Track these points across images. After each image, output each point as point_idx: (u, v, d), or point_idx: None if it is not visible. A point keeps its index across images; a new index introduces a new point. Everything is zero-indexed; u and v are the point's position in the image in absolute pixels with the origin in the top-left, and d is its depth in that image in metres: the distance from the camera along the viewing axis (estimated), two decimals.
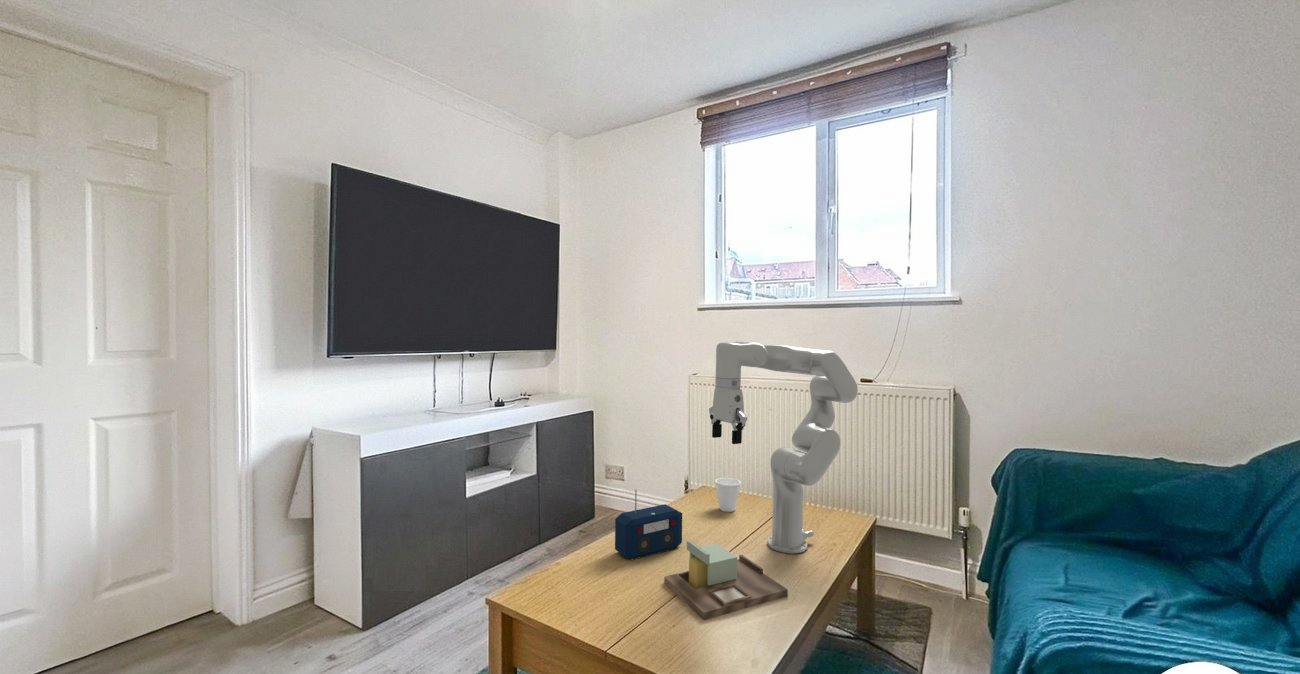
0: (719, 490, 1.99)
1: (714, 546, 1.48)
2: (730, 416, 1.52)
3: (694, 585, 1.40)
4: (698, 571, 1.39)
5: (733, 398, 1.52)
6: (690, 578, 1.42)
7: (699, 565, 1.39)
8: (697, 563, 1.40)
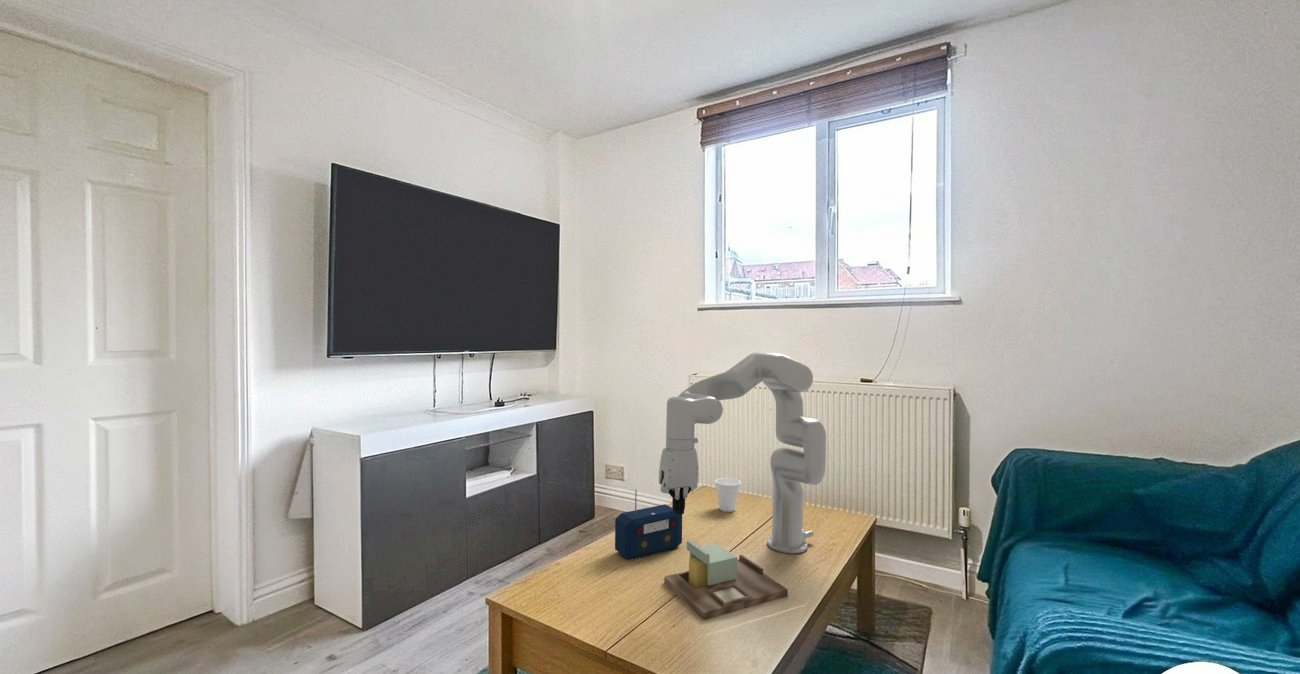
0: (719, 490, 1.99)
1: (714, 546, 1.48)
2: (697, 478, 1.38)
3: (694, 585, 1.40)
4: (698, 571, 1.39)
5: None
6: (690, 578, 1.42)
7: (699, 565, 1.39)
8: (697, 563, 1.40)
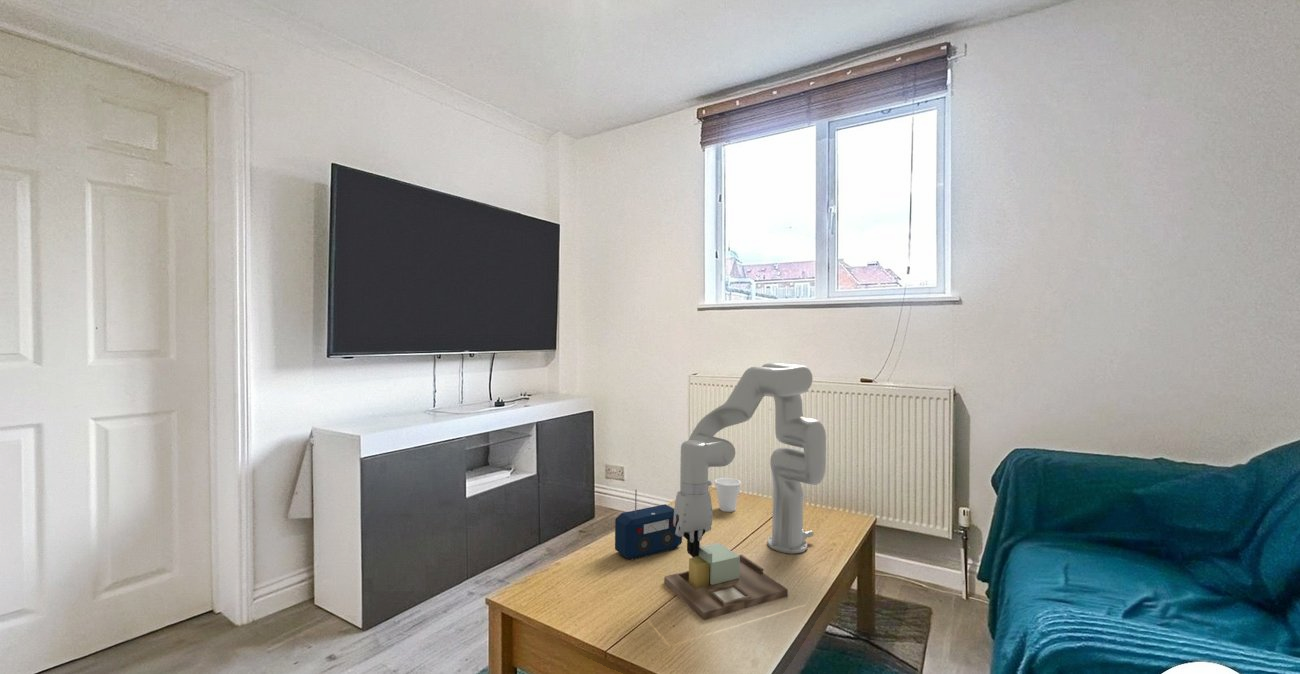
0: (719, 490, 1.99)
1: (717, 545, 1.48)
2: (711, 520, 1.41)
3: (694, 585, 1.40)
4: (698, 571, 1.39)
5: None
6: (690, 578, 1.42)
7: (699, 565, 1.39)
8: (697, 563, 1.40)
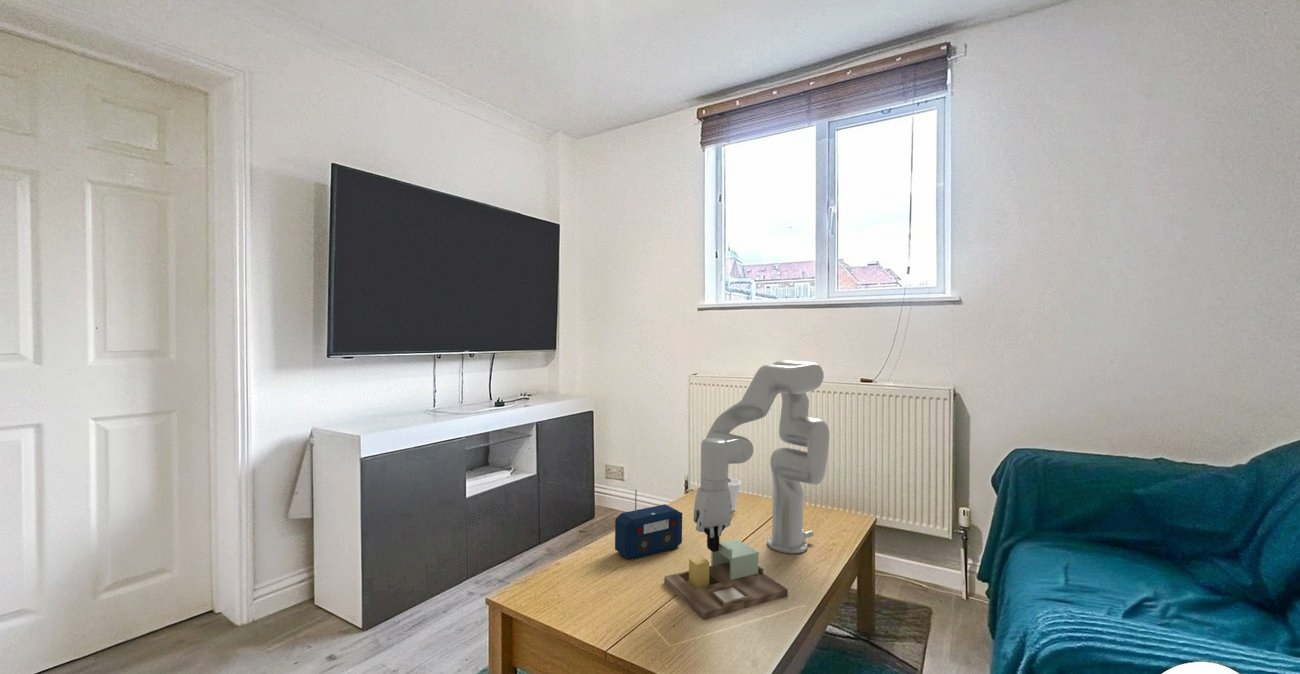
0: None
1: (735, 542, 1.51)
2: (730, 516, 1.44)
3: (694, 585, 1.40)
4: (698, 571, 1.39)
5: None
6: (690, 578, 1.42)
7: (699, 565, 1.39)
8: (697, 563, 1.40)
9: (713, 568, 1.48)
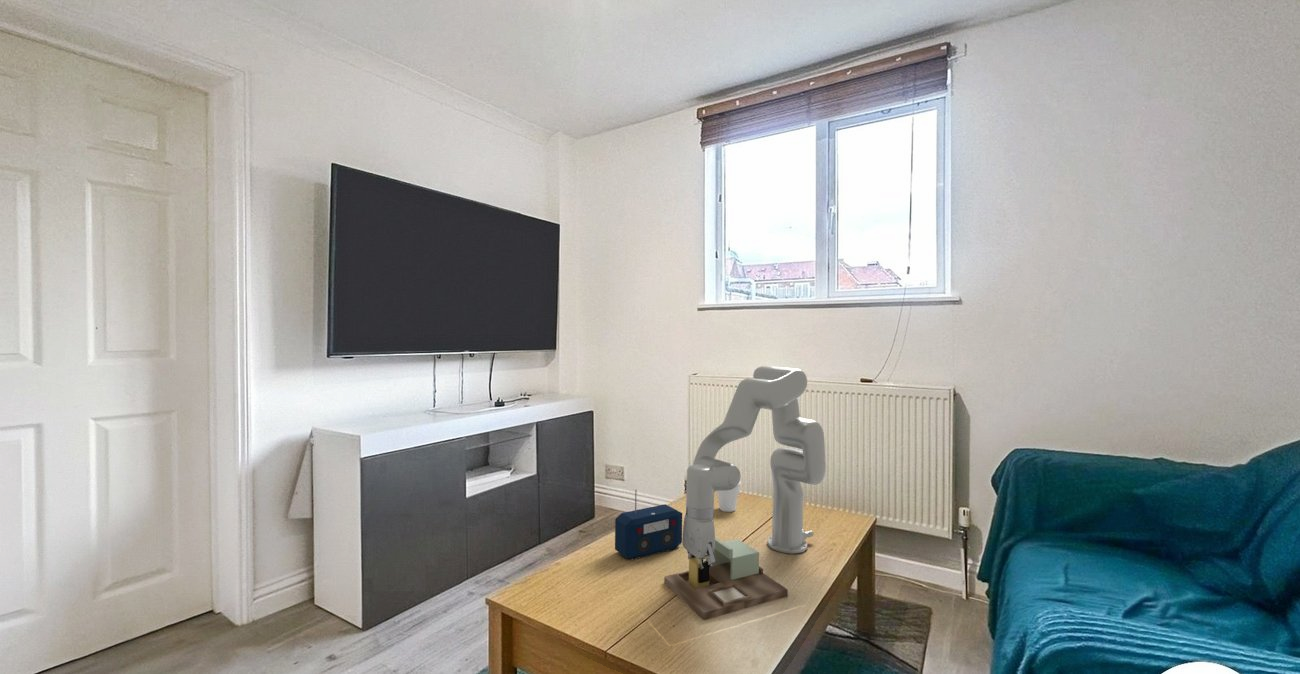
0: None
1: (735, 541, 1.51)
2: None
3: (694, 585, 1.40)
4: None
5: None
6: (690, 578, 1.42)
7: (699, 565, 1.39)
8: (697, 563, 1.40)
9: (713, 568, 1.48)
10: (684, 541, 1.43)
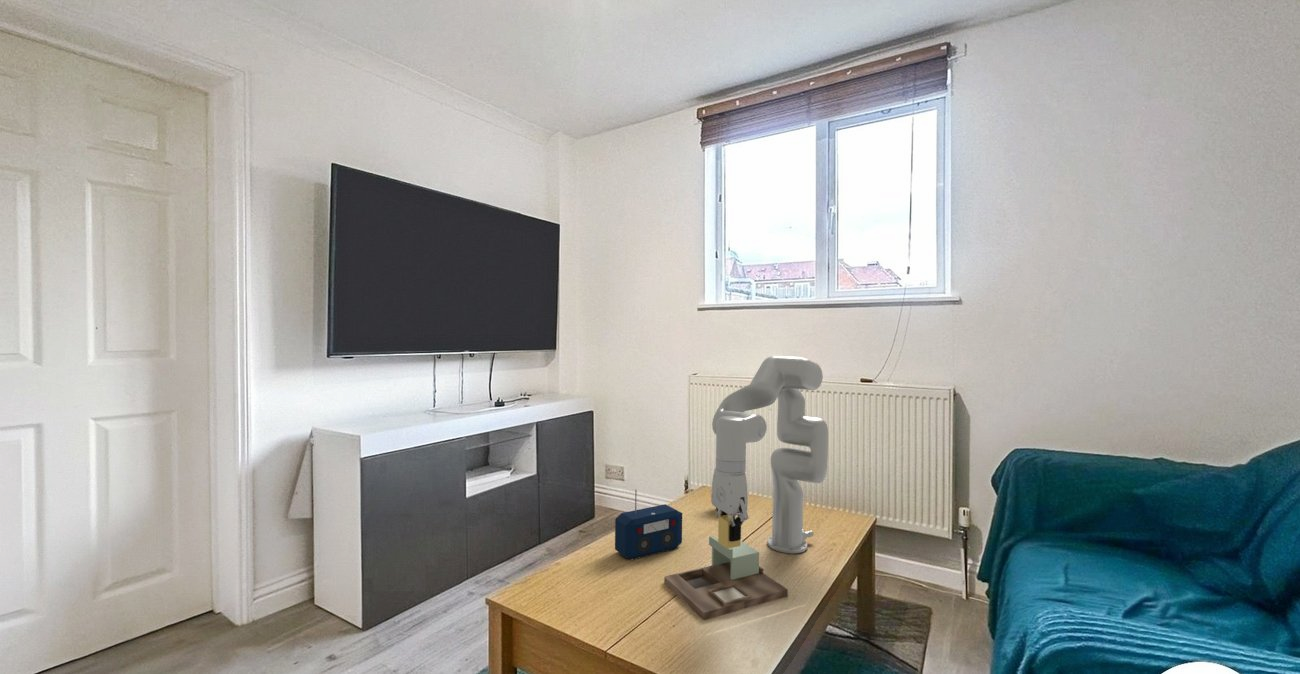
0: None
1: None
2: None
3: (725, 544, 1.31)
4: None
5: None
6: (720, 537, 1.33)
7: (730, 522, 1.30)
8: (727, 520, 1.30)
9: (713, 568, 1.48)
10: (713, 498, 1.34)
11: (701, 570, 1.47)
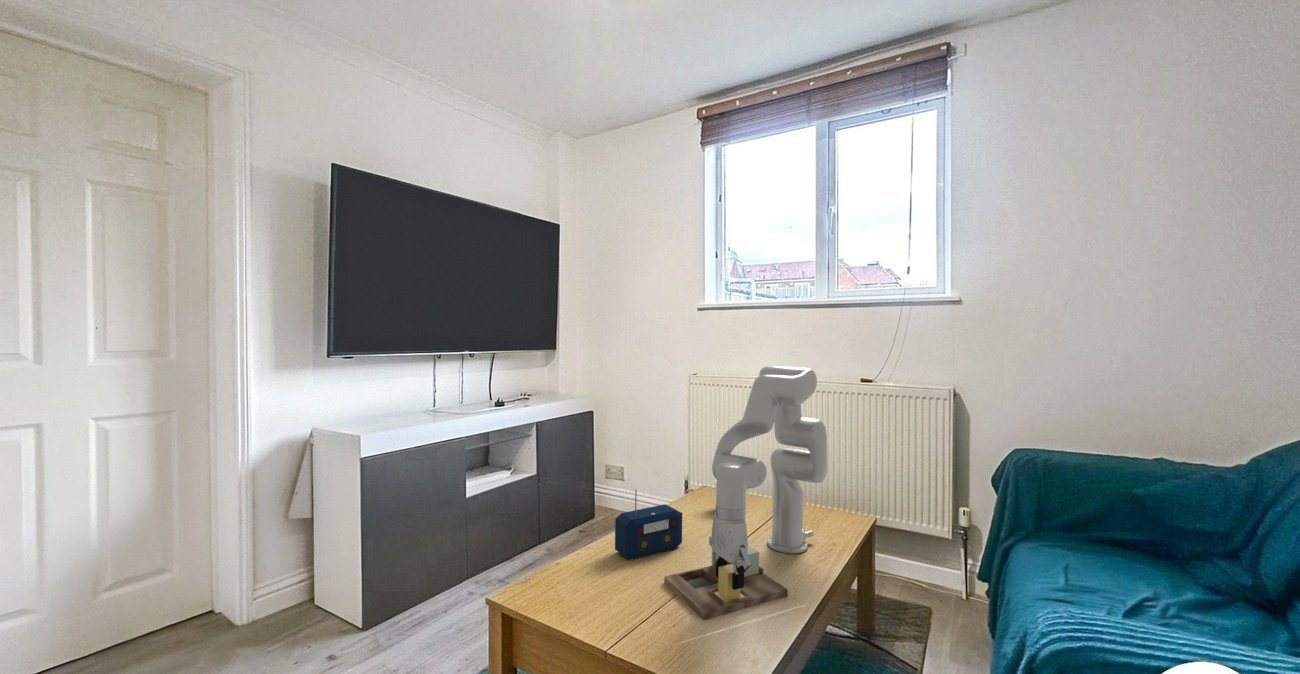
0: None
1: None
2: None
3: (725, 595, 1.31)
4: (729, 581, 1.30)
5: None
6: (720, 588, 1.33)
7: (730, 574, 1.30)
8: (727, 572, 1.31)
9: (713, 568, 1.48)
10: (713, 544, 1.34)
11: (701, 570, 1.47)
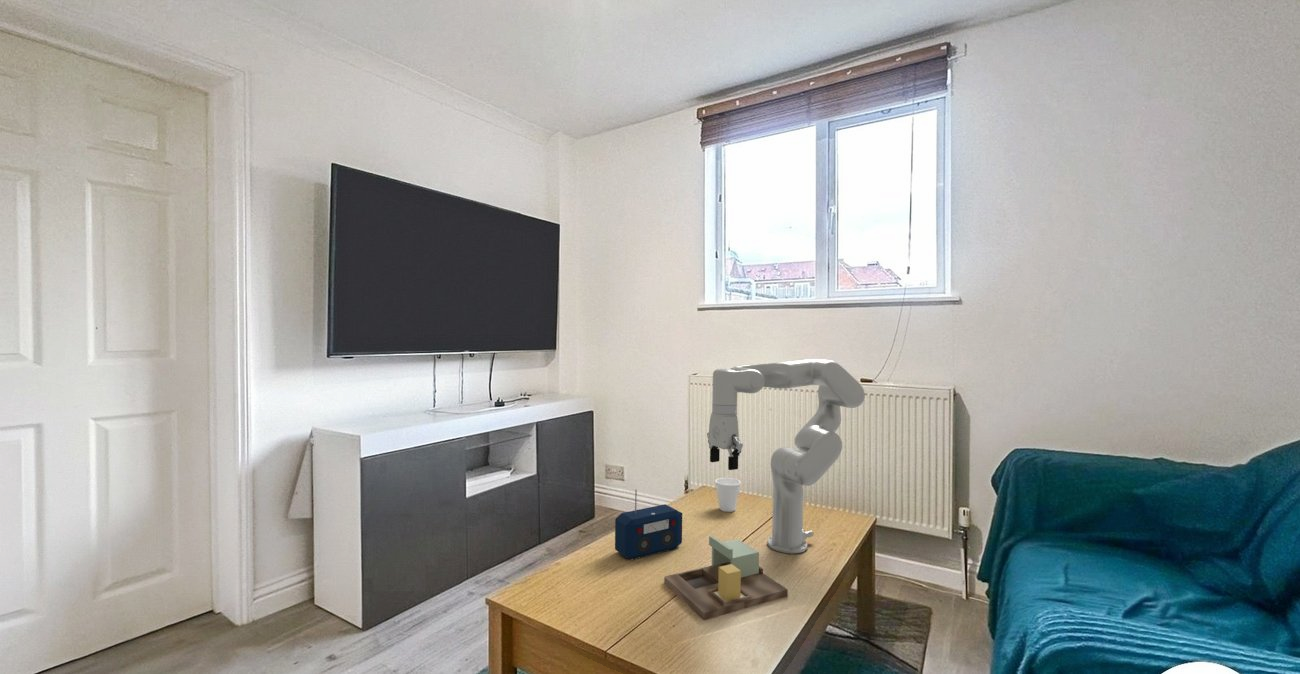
0: (719, 490, 1.99)
1: (735, 541, 1.51)
2: None
3: (725, 595, 1.31)
4: (729, 581, 1.30)
5: None
6: (720, 588, 1.33)
7: (730, 574, 1.30)
8: (727, 572, 1.31)
9: (713, 568, 1.48)
10: (710, 437, 1.61)
11: (701, 570, 1.47)
